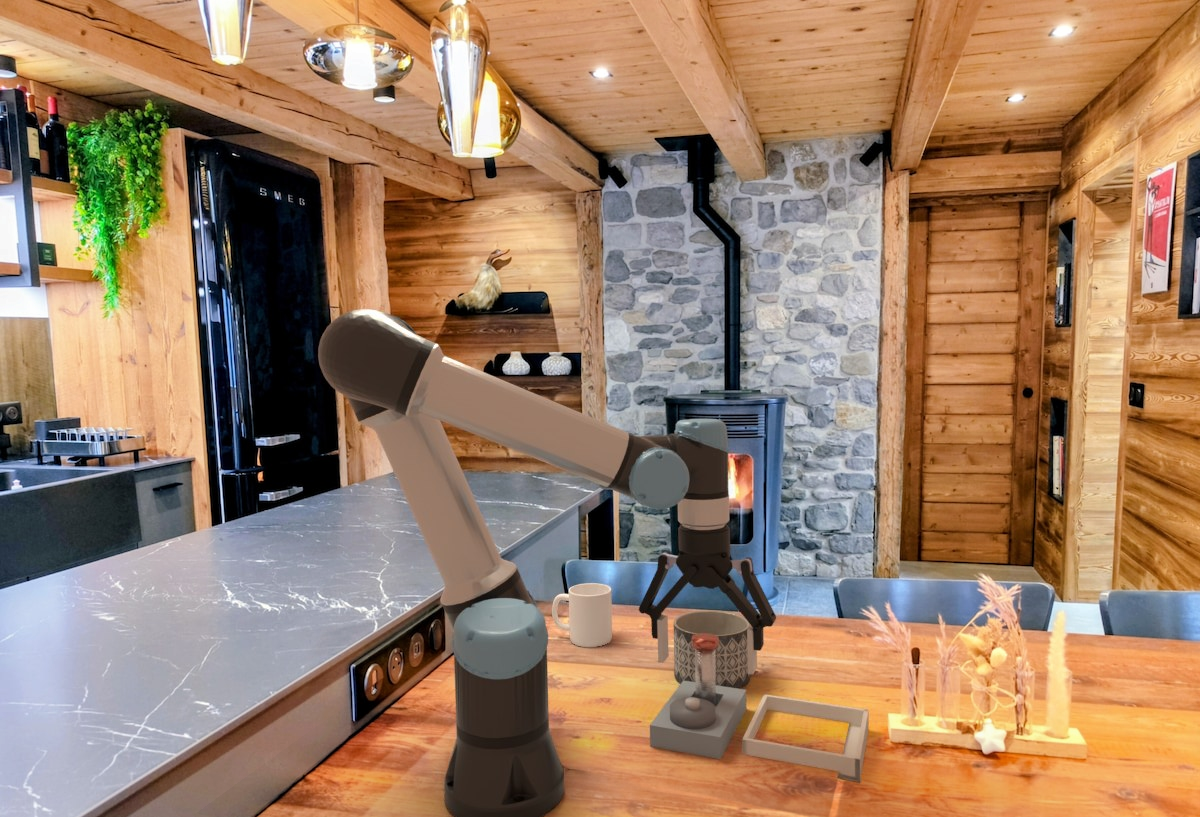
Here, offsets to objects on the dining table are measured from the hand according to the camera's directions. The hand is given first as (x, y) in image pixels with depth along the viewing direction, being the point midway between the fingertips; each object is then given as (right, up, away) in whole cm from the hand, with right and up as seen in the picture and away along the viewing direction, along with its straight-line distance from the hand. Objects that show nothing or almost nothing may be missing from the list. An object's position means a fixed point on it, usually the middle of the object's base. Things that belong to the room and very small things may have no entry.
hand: (707, 665), depth 117 cm
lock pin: (0, -8, 0) cm, 8 cm away
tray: (+13, -9, -6) cm, 17 cm away
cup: (-20, -7, +37) cm, 42 cm away
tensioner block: (-1, -9, -2) cm, 10 cm away
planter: (+3, -8, +16) cm, 18 cm away
